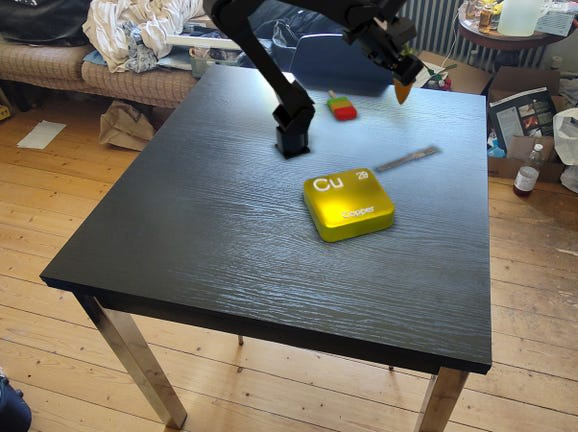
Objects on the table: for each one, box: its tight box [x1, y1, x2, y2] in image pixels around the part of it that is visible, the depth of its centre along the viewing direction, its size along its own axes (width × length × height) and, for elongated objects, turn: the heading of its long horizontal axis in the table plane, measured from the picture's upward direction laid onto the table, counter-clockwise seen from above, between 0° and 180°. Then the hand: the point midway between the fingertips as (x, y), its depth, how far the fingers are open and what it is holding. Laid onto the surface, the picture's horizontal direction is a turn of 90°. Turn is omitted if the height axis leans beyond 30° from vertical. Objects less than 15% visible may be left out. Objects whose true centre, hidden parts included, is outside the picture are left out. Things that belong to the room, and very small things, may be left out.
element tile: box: [302, 167, 396, 243], centre depth 88 cm, size 15×15×5 cm
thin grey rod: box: [376, 146, 439, 173], centre depth 102 cm, size 17×2×1 cm, turn 120°
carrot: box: [393, 43, 414, 106], centre depth 107 cm, size 5×5×15 cm
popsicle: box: [326, 90, 358, 122], centre depth 119 cm, size 6×15×2 cm, turn 19°
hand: (408, 77), depth 107 cm, fingers closed on carrot, 5 cm apart
